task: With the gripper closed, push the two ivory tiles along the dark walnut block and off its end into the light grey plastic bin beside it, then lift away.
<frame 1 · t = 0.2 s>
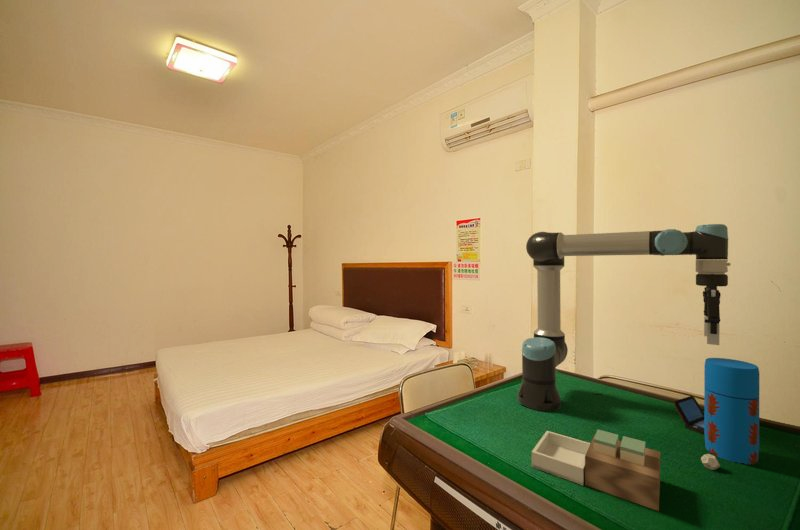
hand: (711, 340, 109), 28 cm above the table, tool pointing down, fingers open, 13 cm apart
tile 1: (606, 448, 84), point 7 cm above the table, touching walnut block
game die: (710, 468, 88), on the table
walnut block: (622, 482, 82), on the table
handheld game console: (702, 427, 110), on the table
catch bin: (563, 462, 90), on the table
thermos: (730, 454, 95), on the table
tile 2: (633, 456, 81), point 7 cm above the table, touching walnut block
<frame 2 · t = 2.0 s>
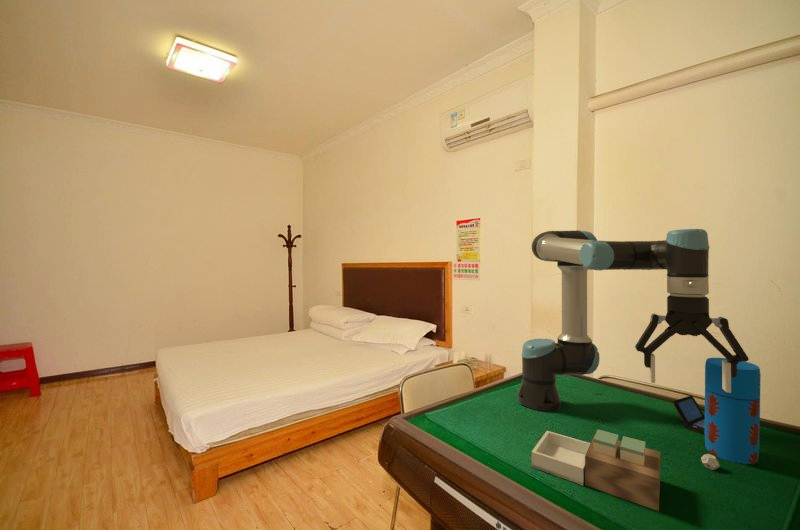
hand: (687, 385, 80), 24 cm above the table, tool pointing down, fingers open, 13 cm apart
nothing on the table moved.
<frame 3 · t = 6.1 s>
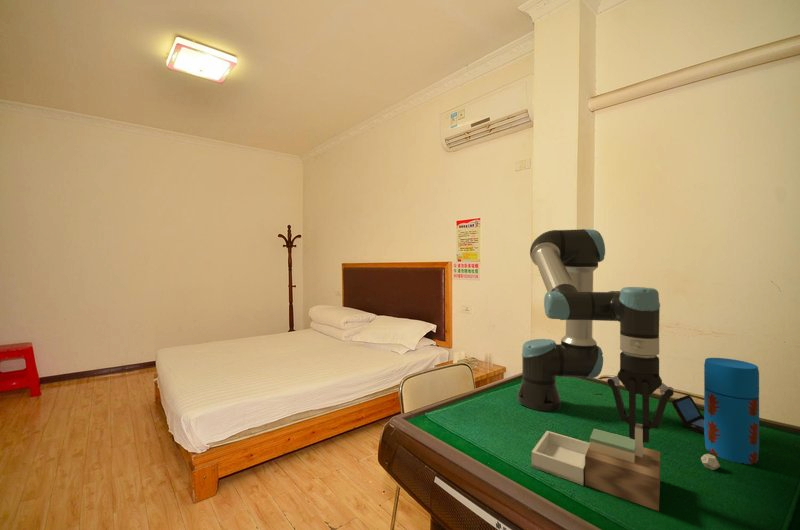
hand: (639, 453, 80), 8 cm above the table, tool pointing down, fingers closed
tile 1: (602, 447, 85), point 7 cm above the table, touching tile 2, walnut block
tile 2: (623, 453, 82), point 7 cm above the table, touching gripper, tile 1
everything else where it was.
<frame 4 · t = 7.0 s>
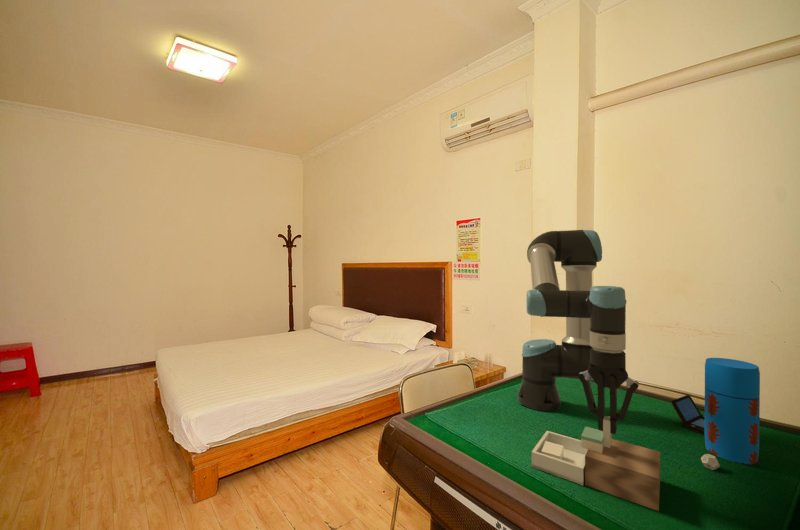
hand: (607, 444, 84), 8 cm above the table, tool pointing down, fingers closed
tile 1: (552, 448, 91), point 4 cm above the table, tilted 180°, touching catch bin
tile 2: (593, 445, 86), point 7 cm above the table, touching gripper, walnut block
everything else where it was.
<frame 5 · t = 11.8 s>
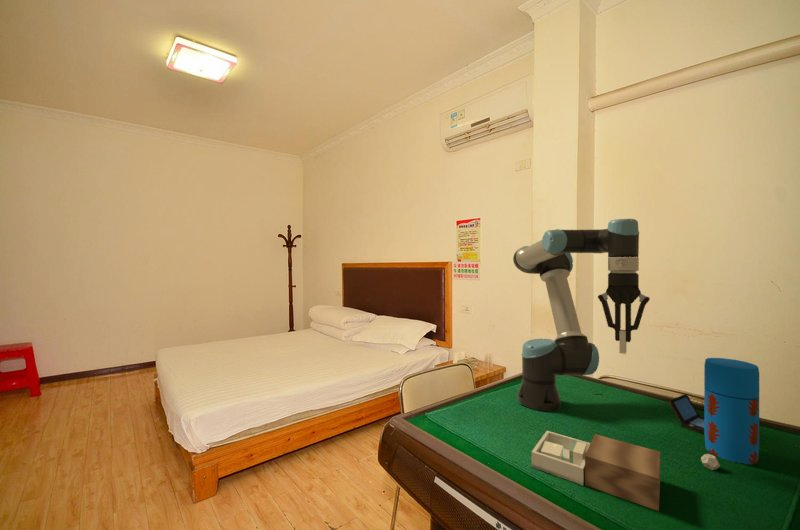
hand: (623, 352, 101), 26 cm above the table, tool pointing down, fingers closed
tile 2: (584, 457, 87), point 3 cm above the table, tilted 90°, touching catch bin
at the end: tile 1 inside the target area on the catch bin (2.8 cm from its centre), point 3.8 cm above the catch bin's base; tile 2 inside the target area on the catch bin (5.0 cm from its centre), point 3.0 cm above the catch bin's base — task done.
